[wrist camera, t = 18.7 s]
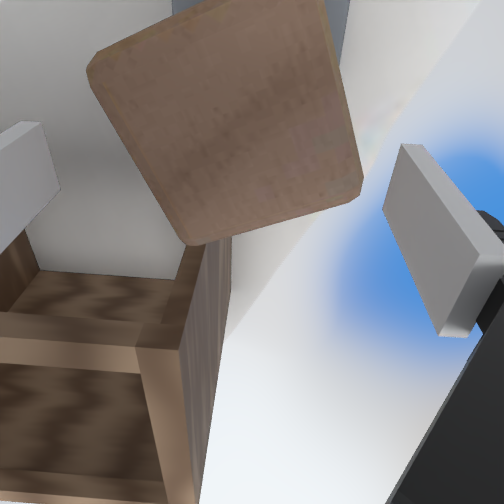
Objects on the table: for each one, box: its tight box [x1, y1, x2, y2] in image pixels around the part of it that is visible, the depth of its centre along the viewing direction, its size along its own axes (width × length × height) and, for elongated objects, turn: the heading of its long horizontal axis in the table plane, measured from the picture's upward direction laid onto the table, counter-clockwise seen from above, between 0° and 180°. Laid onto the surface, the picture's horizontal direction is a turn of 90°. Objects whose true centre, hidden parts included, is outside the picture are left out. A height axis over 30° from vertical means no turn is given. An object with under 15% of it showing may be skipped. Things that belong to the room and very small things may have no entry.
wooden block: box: [86, 0, 364, 246], centre depth 24 cm, size 10×10×20 cm
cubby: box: [0, 229, 232, 504], centre depth 34 cm, size 26×20×26 cm
